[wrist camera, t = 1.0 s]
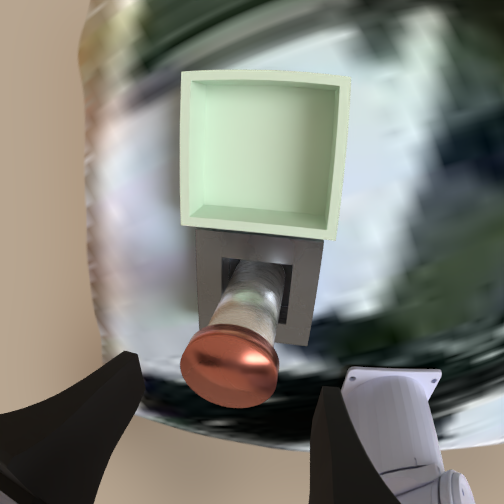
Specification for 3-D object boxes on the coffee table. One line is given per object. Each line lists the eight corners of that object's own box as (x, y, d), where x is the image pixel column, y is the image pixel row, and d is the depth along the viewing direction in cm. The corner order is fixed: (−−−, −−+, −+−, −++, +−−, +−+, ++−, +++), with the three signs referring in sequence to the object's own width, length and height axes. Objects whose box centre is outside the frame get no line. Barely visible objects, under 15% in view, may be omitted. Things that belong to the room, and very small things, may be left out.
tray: (332, 222, 18) (335, 240, 16) (198, 210, 19) (180, 225, 17) (344, 84, 15) (350, 77, 12) (200, 78, 16) (181, 71, 14)
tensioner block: (308, 327, 21) (307, 345, 20) (208, 314, 22) (199, 331, 21) (322, 230, 19) (323, 242, 17) (206, 218, 20) (195, 229, 18)
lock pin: (288, 306, 21) (272, 414, 13) (228, 299, 22) (184, 398, 13) (294, 250, 19) (281, 347, 11) (229, 244, 20) (175, 330, 12)
